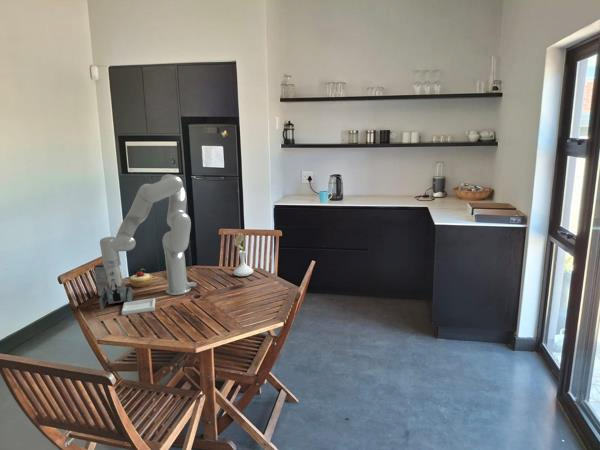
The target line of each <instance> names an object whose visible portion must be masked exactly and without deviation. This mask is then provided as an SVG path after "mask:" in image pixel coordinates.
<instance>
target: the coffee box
mask: <svg viewBox="0 0 600 450" xmlns="http://www.w3.org/2000/svg"><path fill="white" fill-rule="evenodd" d="M93 266H94V267H93V268H94V273H95V281H96V287H97V295H98V296H99V297H101V294H102V292H103V291H106V290H108V289H109V288H110V286H109V281H108V275H107V268H104V265H103V261H102V262H100V263H98V264H96V265H93Z"/></svg>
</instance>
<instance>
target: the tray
mask: <svg viewBox="0 0 600 450" xmlns="http://www.w3.org/2000/svg"><path fill="white" fill-rule="evenodd" d="M155 310H156V298H155V297H154V298H147V299H140V300H139V299H138V300H132V301H130V302H128V301H123V305H122V309H121V316H122V317H123V316H127V315H128V316H129V315H136V314H143V313H149V312H151V313H152V312H155Z"/></svg>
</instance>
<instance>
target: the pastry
mask: <svg viewBox="0 0 600 450" xmlns="http://www.w3.org/2000/svg"><path fill="white" fill-rule="evenodd" d="M142 270H144V271H146V269H144V268H141V269H140V271H137V272H136V274H133V275H132V276H130V278H129V283H130V285H131V286H132V288H137V289H138V288H145V287H146V288H147V287H149V286H151V285H152V283H153V281H154V278H153V277H154V276H153V275H152V274H151V273H146V272H143V271H142Z"/></svg>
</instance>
